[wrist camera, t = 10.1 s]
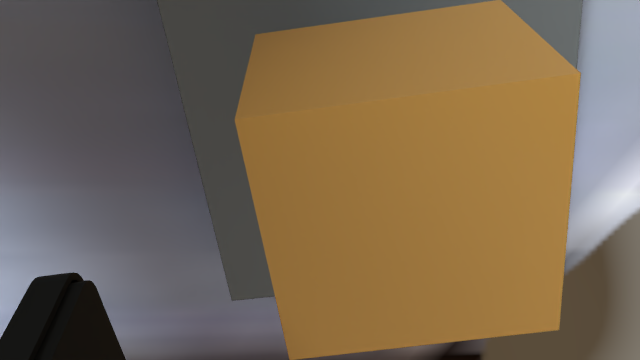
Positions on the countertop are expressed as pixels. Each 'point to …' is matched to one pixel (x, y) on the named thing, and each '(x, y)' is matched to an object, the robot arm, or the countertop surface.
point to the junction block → (227, 81)
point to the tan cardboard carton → (410, 177)
